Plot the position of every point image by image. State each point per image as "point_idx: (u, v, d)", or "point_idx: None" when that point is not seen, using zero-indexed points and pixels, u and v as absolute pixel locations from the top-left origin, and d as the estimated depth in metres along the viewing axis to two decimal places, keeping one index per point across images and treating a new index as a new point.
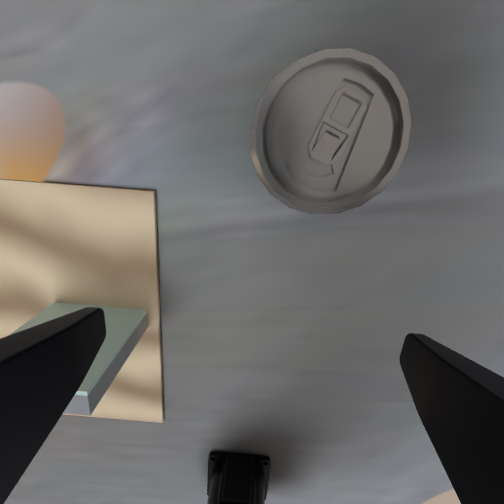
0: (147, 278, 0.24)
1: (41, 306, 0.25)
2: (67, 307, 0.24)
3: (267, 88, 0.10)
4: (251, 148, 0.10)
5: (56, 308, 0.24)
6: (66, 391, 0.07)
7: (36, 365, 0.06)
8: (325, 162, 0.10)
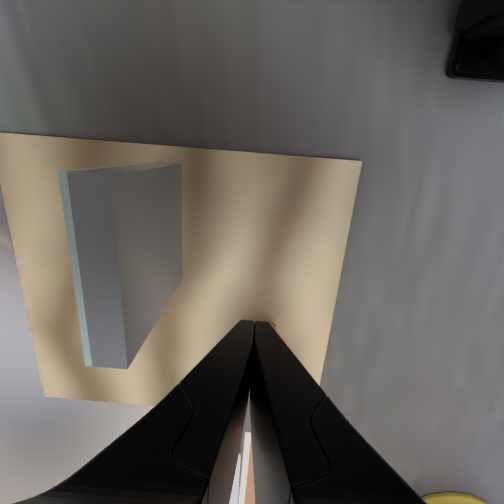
0: (106, 153, 0.18)
1: None
2: None
3: None
4: None
5: None
6: (246, 406, 0.07)
7: (245, 382, 0.06)
8: None
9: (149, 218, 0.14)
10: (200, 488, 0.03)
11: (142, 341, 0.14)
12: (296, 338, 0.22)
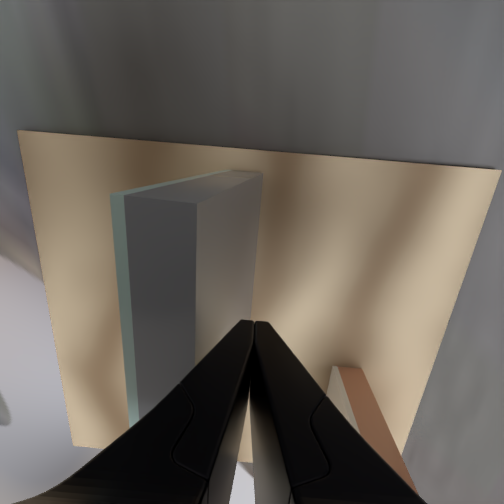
0: (166, 159, 0.14)
1: None
2: None
3: None
4: None
5: None
6: (246, 406, 0.07)
7: (245, 383, 0.06)
8: None
9: (232, 256, 0.09)
10: (200, 488, 0.03)
11: None
12: (385, 384, 0.18)
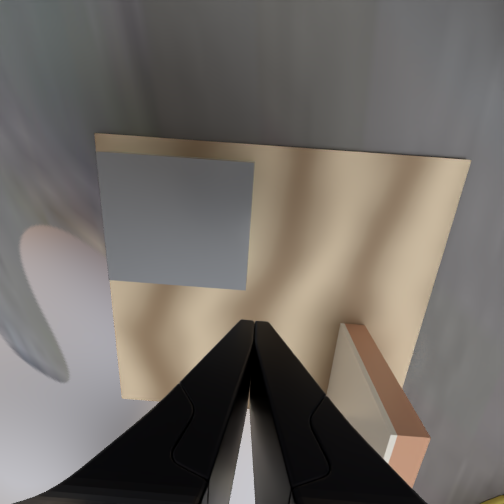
0: (210, 154, 0.18)
1: (255, 294, 0.21)
2: None
3: None
4: None
5: None
6: (246, 406, 0.07)
7: (245, 383, 0.06)
8: None
9: (154, 194, 0.17)
10: (200, 488, 0.03)
11: (133, 279, 0.19)
12: (384, 338, 0.22)
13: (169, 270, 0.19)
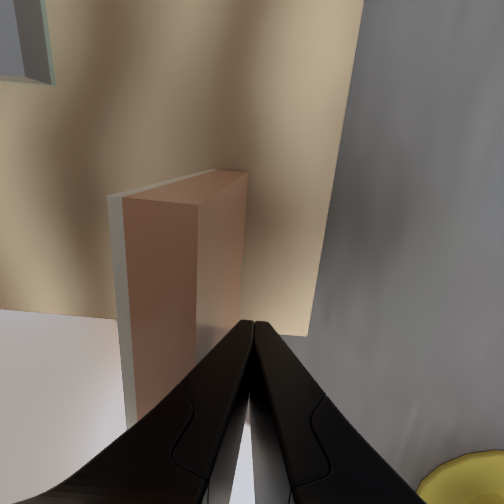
0: None
1: (74, 116, 0.14)
2: None
3: None
4: None
5: None
6: (246, 407, 0.07)
7: (245, 383, 0.06)
8: None
9: None
10: (200, 488, 0.03)
11: None
12: (281, 197, 0.14)
13: None
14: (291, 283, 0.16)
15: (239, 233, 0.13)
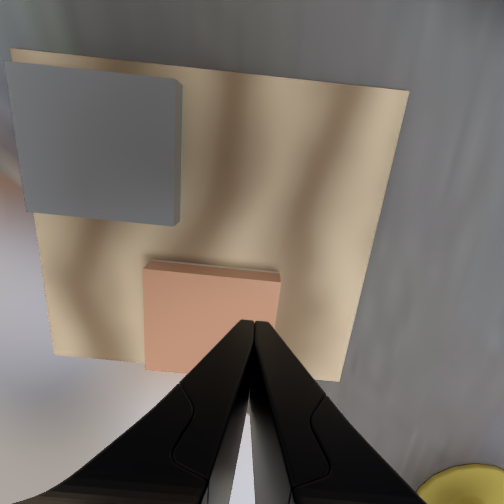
0: None
1: (191, 238, 0.20)
2: None
3: None
4: None
5: None
6: (246, 406, 0.07)
7: (245, 383, 0.06)
8: None
9: (70, 113, 0.16)
10: (200, 488, 0.03)
11: (53, 211, 0.18)
12: (327, 290, 0.21)
13: (91, 201, 0.17)
14: (330, 345, 0.22)
15: (245, 312, 0.20)
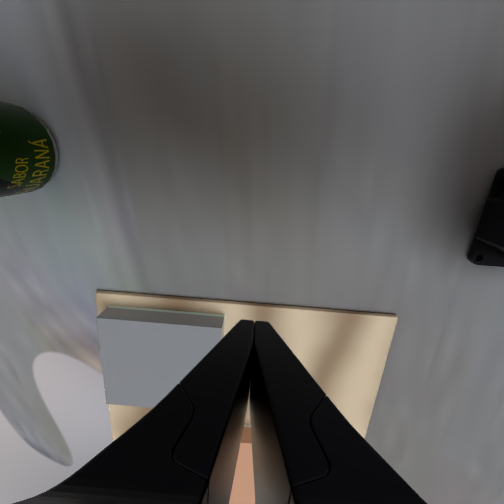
0: (189, 309, 0.22)
1: None
2: None
3: None
4: None
5: None
6: (246, 407, 0.07)
7: (245, 383, 0.06)
8: None
9: (143, 347, 0.21)
10: (200, 488, 0.03)
11: (126, 404, 0.23)
12: None
13: (155, 398, 0.23)
14: None
15: None
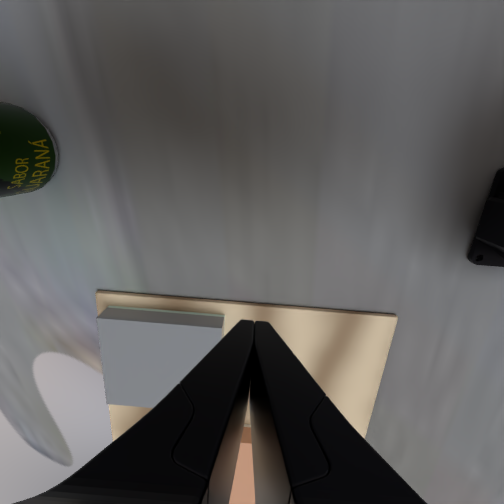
0: (189, 309, 0.22)
1: None
2: None
3: None
4: None
5: None
6: (246, 406, 0.07)
7: (245, 383, 0.06)
8: None
9: (143, 347, 0.21)
10: (200, 488, 0.03)
11: (127, 404, 0.23)
12: None
13: (155, 398, 0.23)
14: None
15: None
